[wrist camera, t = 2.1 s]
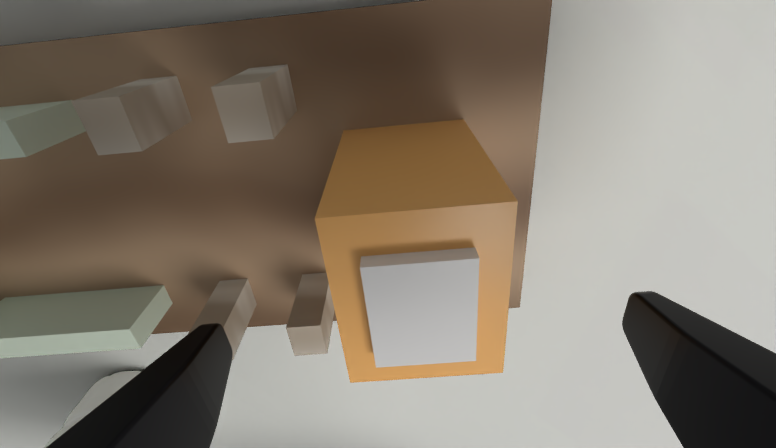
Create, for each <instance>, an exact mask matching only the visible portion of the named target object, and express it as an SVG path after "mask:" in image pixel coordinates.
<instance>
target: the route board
mask: <svg viewBox="0 0 776 448" xmlns="http://www.w3.org/2000/svg"><path fill="white" fill-rule="evenodd" d="M551 6H552V0H423V1H414V2H405V3H396V4H386V5H377V6H368V7H358V8H349V9H340V10H331V11H321V12H312V13H303V14H293V15H284V16H275V17H265V18H256V19H247V20H238V21H228V22H219V23H210V24H200V25H191V26H182V27H173V28H163V29H154V30H145V31H135V32H126V33H117V34H107V35H98V36H89V37H80V38H70V39H61V40H52V41H42V42H33V43H24V44H14V45H5V46H0V107H7V106H17V105H27V104H37V103H47V102H57V101H67V100H72V101H71V102H72V104H73V106H74V108H75V110H76V112H77V114H78V116H79V118H80V120H81V122H82V124H83V126H84V128H85V130H86V131H85V132H83V133H81V134H79V135H76V136H74V137H72V138H69V139H67V140H65V141H62V142H60V143H58V144H55V145H53V146H51V147H48V148H46V149H44V150H41V151H39V152H37V153H35V154H32V155H30V156H28V157H21V158H11V159H0V301H1V300H2V299H4V298H6V297H19V296H32V295H44V294H57V293H70V292H83V291H96V290H108V289H121V288H134V287H147V286H160V285H164V287H165V289H166V291H167V293H168V295H169V297H170V299H171V301H172V303H173V304H172V305H171V306H170V308H169V309H168V311H167V312H166V313H165V315H164V316H163V318H162V319H161V321H160V322H159V323H158V325H157V326H156V328H155V329H154V330H153V332H152V333H151V334H159V333H172V332H186V331H189V333H191V332H192V331H193V330H194V329H196V328H197V327H198V326H200V325H202V324H208V323H220V324H221V325H222V326H223V328H224V330H225V333H226V335H227V337H228V340H229V342H230V344H231V347H232V351H233V356H232V360H233V359H234V356H235V354H236V351H237V349H238V347H239V344H240V342H241V340H242V337H243V335H244V333H245V330H246V328H247V327H255V326H269V325H283V324H287V326H286V329H287V333H288V336H289V339H290V342H291V345H292V349H293V352H294V355H295V356H298V355H313V354H327V353H328V347H329V341H330V334H331V328H332V322H333V321H337V319H336V314H335V310H334V305H333V301H332V296H331V291H330V287H329V282H328V278H327V273H326V268H325V264H324V259H323V255H322V250H321V245H320V241H319V236H318V232H317V227H316V222H315V216H316V213H317V210H318V207H319V204H320V201H321V198H322V194H323V191H324V188H325V185H326V182H327V179H328V176H329V173H330V170H331V167H332V164H333V161H334V158H335V155H336V152H337V149H338V146H339V143H340V140H341V137H342V134H343V131H344V130H355V129H365V128H376V127H386V126H397V125H408V124H418V123H429V122H440V121H450V120H461V119H464V121H465V122H466V124H467V125H468V127H469V128H470V130H471V131H472V133H473V134H474V136H475V137H476V139H477V140H478V142H479V143H480V145H481V146H482V148H483V149H484V151H485V152H486V154H487V155H488V157H489V158H490V160H491V161H492V163H493V165H494V166H495V168H496V169H497V171H498V172H499V174H500V175H501V177H502V178H503V180H504V181H505V183H506V184H507V186H508V187H509V189H510V190H511V192H512V193H513V195H514V196H515V198H516V199H517V201H518V205H517V216H516V228H515V239H514V251H513V262H512V274H511V286H510V297H509V308H517V307H520V299H521V290H522V280H523V271H524V262H525V252H526V243H527V233H528V224H529V214H530V205H531V195H532V186H533V176H534V167H535V158H536V148H537V139H538V129H539V120H540V110H541V101H542V91H543V82H544V72H545V63H546V54H547V44H548V35H549V25H550V16H551ZM189 333H188V334H189Z"/></svg>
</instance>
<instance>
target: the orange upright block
mask: <svg viewBox="0 0 776 448" xmlns="http://www.w3.org/2000/svg"><path fill="white" fill-rule="evenodd" d="M517 205H518V201H517V199H516V198H515V196H514V195H513V193H512V192H511V190H510V189H509V187H508V186H507V184H506V183H505V181H504V180H503V178H502V177H501V175H500V174H499V172H498V171H497V169H496V168H495V166H494V165H493V163H492V161H491V160H490V158H489V157H488V155H487V154H486V152H485V151H484V149H483V148H482V146H481V145H480V143H479V142H478V140H477V139H476V137H475V136H474V134H473V133H472V131H471V130H470V128H469V127H468V125H467V124H466V122H465V121H464V119H461V120H450V121H440V122H429V123H418V124H408V125H397V126H386V127H376V128H365V129H355V130H344V131H343V134H342V137H341V140H340V143H339V146H338V149H337V152H336V155H335V158H334V161H333V164H332V167H331V170H330V173H329V176H328V179H327V182H326V185H325V188H324V191H323V194H322V198H321V201H320V204H319V207H318V210H317V213H316V216H315V222H316V227H317V232H318V236H319V241H320V245H321V250H322V255H323V259H324V264H325V268H326V273H327V278H328V282H329V287H330V291H331V296H332V301H333V305H334V310H335V314H336V319H337V323H338V328H339V333H340V337H341V342H342V346H343V351H344V356H345V360H346V365H347V369H348V374H349V379H350V383H352V382H367V381H382V380H398V379H413V378H428V377H443V376H459V375H474V374H489V373H503V366H504V355H505V343H506V332H507V320H508V309H509V297H510V286H511V274H512V262H513V251H514V239H515V228H516V216H517Z"/></svg>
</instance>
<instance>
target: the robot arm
mask: <svg viewBox="0 0 776 448" xmlns="http://www.w3.org/2000/svg"><path fill="white" fill-rule="evenodd" d="M622 325H623V330H624V333H625V335H626V337H627V339H628V342H629V344H630V346H631V348H632V350H633V352H634V355H635V357H636V359H637V361H638V363H639V366H640V368H641V370H642V372H643V374H644V376H645V379H646V381H647V383H648V385H649V387H650V389H651V391H652V393H653V395H654V397H655V399H656V401H657V403H658V405H659V406H660V408H661V410H662V412H663V413H664V415H665V417H666V418H667V420H668V422H669V424H670V425H671V427H672V429H673V430H674V432H675V434H676V435H677V437H678V439H679V441H680V442H681V444H682V446H683V447H684V448H776V353H774V352H772V351H770V350H768V349H766V348H764V347H762V346H760V345H758V344H756V343H754V342H752V341H750V340H748V339H746V338H744V337H742V336H740V335H738V334H736V333H734V332H732V331H731V330H729V329H727V328H725V327H723V326H721V325H719V324H717V323H715V322H713V321H711V320H709V319H707V318H705V317H703V316H701V315H699V314H697V313H695V312H693V311H691V310H689V309H687V308H685V307H683V306H681V305H679V304H677V303H675V302H673V301H671V300H670V299H668V298H666V297H664V296H662V295H660V294H658V293H655V292H652V291H646V292H635V293H632V294H631V295H630V297H629V299H628V303H627V306H626V310H625V313H624V317H623V321H622ZM232 356H233V351H232V347H231V344H230V342H229V340H228V337H227V335H226V333H225V330H224V328H223V326H222V325H221V324H220V323H208V324H202V325H200V326H198V327H197V328H196V329H194V330H193V331H192V332H191V333H189V334H188V335H187V336H186V337H184V338H183V339H182V340H180V341H179V342H178V343H177V344H175V345H174V346H173V347H172V348H170V349H169V350H168V351H167V352H165V353H164V354H163V355H162V356H160V357H159V358H158V359H157V360H155V361H154V362H153V363H152V364H150V365H149V366H148V367H147V368H145V369H144V370H143V371H141V372H140V373H139V374H138V375H136V376H135V377H134V378H133V379H131V380H130V381H129V382H128V383H126V384H125V385H124V386H123V387H121V388H120V389H119V390H118V391H116V392H115V393H114V394H113V395H111V396H110V397H109V398H108V399H106V400H105V401H104V402H102V403H101V404H100V405H99V406H97V407H96V408H95V409H94V410H92V411H91V412H90V413H89V414H87V415H86V416H85V417H84V418H82V419H81V420H80V421H79V422H77V423H76V424H75V425H74V426H72V427H71V428H70V429H68V430H67V431H66V432H65V433H63V434H62V435H61V436H60V437H58V438H57V439H56V440H55V441H53V442H52V443H51V444H50V445H48V446H47V447H46V448H209V447H210V444H211V441H212V438H213V435H214V432H215V429H216V426H217V422H218V418H219V415H220V410H221V406H222V401H223V397H224V393H225V388H226V384H227V380H228V375H229V371H230V366H231V362H232Z"/></svg>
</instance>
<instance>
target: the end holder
mask: <svg viewBox="0 0 776 448" xmlns="http://www.w3.org/2000/svg"><path fill="white" fill-rule="evenodd" d="M71 101H72V100H67V101H57V102H47V103H37V104H27V105H17V106H7V107H0V159H11V158H21V157H28V156H30V155H32V154H35V153H37V152H39V151H41V150H44V149H46V148H48V147H51V146H53V145H55V144H58V143H60V142H62V141H65V140H67V139H69V138H72V137H74V136H76V135H79V134H81V133H83V132H85V131H86V130H85V128H84V126H83V124H82V122H81V120H80V118H79V116H78V114H77V112H76V110H75V108H74V106H73V104H72V102H71ZM172 304H173V303H172V301H171V299H170V297H169V295H168V293H167V291H166V289H165V287H164V285H160V286H147V287H134V288H121V289H108V290H96V291H83V292H70V293H57V294H44V295H32V296H19V297H6V298H4V299H2V300H1V301H0V358H14V357H28V356H42V355H56V354H70V353H84V352H98V351H112V350H126V349H140V348H141V347H142V346H143V345H144V343H145V342H146V340H147V339H148V337H149V336H150V335H151V333H152V332H153V330H154V329H155V328H156V326H157V325H158V323H159V322H160V321H161V319H162V318H163V316H164V315H165V313H166V312H167V311H168V309H169V308H170V306H171V305H172Z"/></svg>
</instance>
